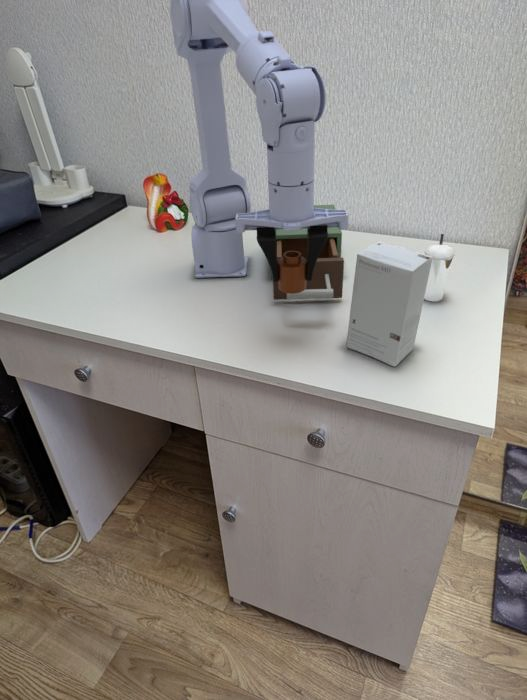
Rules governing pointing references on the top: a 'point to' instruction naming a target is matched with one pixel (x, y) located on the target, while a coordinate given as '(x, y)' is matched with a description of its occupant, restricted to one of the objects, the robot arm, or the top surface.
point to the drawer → (315, 271)
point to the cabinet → (303, 233)
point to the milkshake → (438, 269)
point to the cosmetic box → (387, 301)
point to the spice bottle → (292, 272)
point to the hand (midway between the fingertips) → (292, 277)
